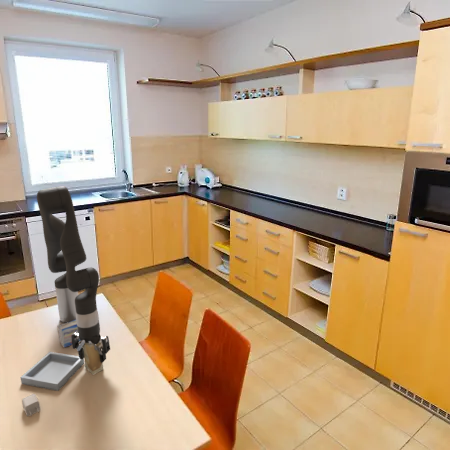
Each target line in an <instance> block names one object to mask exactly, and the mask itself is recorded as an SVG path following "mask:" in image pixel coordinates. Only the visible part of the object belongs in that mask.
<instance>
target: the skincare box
mask: <svg viewBox="0 0 450 450" xmlns="http://www.w3.org/2000/svg"><path fill="white" fill-rule="evenodd" d="M99 345H101V342H100V341H99V342H98V344H96V346H97V347H98V346H99ZM100 349H101V347H100ZM83 350H84V367H85V369H86V370H87V371H88V372H89V373H91V375H95V374H97V373H100V372H101V371H103V370H104V362H103V363H101V362H100V355H99V354H100V353H99V352H98V351H96V350H95V349H94V345H90V344H89V343H85V345H84V346H83ZM101 350H102V349H101Z"/></svg>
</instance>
